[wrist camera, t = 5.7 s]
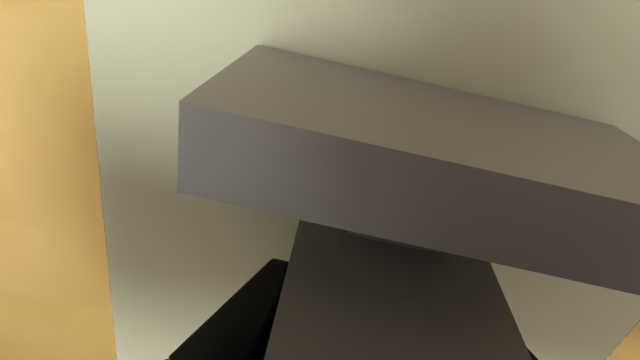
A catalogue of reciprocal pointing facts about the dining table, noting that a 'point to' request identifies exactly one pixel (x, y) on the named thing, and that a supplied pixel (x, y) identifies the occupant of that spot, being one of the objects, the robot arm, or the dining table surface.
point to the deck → (355, 50)
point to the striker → (408, 202)
